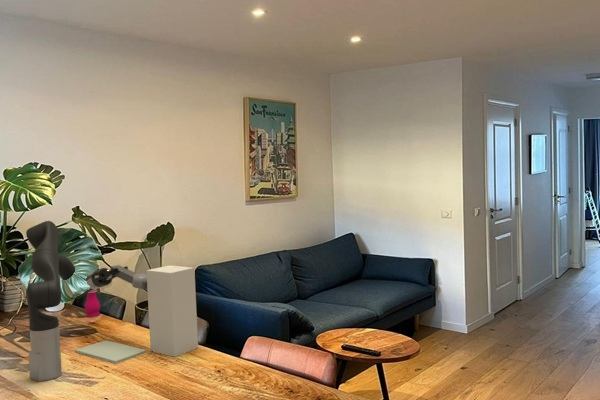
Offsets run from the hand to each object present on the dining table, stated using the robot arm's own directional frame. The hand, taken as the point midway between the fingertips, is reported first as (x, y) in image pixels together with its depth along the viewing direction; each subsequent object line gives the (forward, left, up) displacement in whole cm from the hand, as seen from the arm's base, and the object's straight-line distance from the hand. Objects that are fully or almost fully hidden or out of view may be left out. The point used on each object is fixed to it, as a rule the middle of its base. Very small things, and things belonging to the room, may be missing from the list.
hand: (122, 269), depth 220 cm
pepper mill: (+21, +54, -31) cm, 66 cm away
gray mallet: (0, -5, -4) cm, 7 cm away
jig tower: (+5, -24, -31) cm, 39 cm away
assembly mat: (-10, -4, -31) cm, 33 cm away
